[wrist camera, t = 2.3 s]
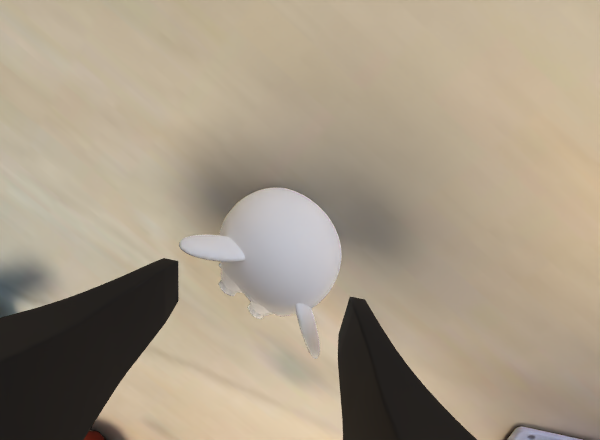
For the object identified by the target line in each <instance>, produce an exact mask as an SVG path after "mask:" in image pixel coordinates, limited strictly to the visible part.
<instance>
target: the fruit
mask: <svg viewBox="0 0 600 440" xmlns="http://www.w3.org/2000/svg"><path fill="white" fill-rule="evenodd" d="M84 440H106V439H105V438H104V437H103V436H102V435H101V434H100V432H98V431H89V432H88V433H87V435H86V437H85V438H84Z"/></svg>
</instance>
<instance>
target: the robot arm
mask: <svg viewBox="0 0 600 440" xmlns="http://www.w3.org/2000/svg"><path fill="white" fill-rule="evenodd" d="M177 302H178V261H175V260H170V259H165V258H164V259H161V260H158V261H156V262H153V263H151V264H149V265H147V266H144V267H142V268H140V269H138V270H135V271H133V272H131V273H129V274H126V275H124V276H122V277H120V278H117V279H115V280H113V281H110V282H108V283H105V284H103V285H100V286H98V287H95V288H93V289H90V290H88V291H85V292H83V293H80V294H77V295H75V296H72V297H69V298H66V299H63V300H60V301H57V302H54V303H51V304H48V305H45V306H42V307H38V308H35V309H31V310H27V311H24V312H20V313H16V314H13V315H9V316H6V317H2V318H0V440H84V438H85V437H86V435H87V433H88V432H89V430H90V429H91V427H92V425H93V424H94V422H95V420H96V419H97V417H98V416H99V414H100V412H101V411H102V409H103V407H104V406H105V404H106V403H107V401H108V400H109V398H110V397H111V395H112V394H113V392H114V390H115V389H116V387H117V386H118V384H119V383H120V381H121V380H122V379H123V377H124V376H125V374H126V373H127V372H128V370H129V369H130V368H131V366H132V365H133V364H134V363H135V361H136V360H137V359H138V357H139V356H140V355H141V354H142V352H143V351H144V350H145V349H146V347H147V346H148V345H149V343H150V342H151V341H152V340H153V338H154V337H155V336H156V334H157V333H158V332H159V330H160V329H161V328H162V326H163V325H164V324H165V322H166V321H167V319H168V318H169V316H170V314H171V313H172V311H173V309H174V307H175V306H176V304H177ZM338 368H339V381H340V393H341V406H342V418H343V440H477V439H476V438H475V437H474V436H472V435H471V434H470V433H469V432H468V431H467V430H466V429H465V428H464V427H463V426H462V425H461V424H460V423H459V422H458V421H457V420H456V419H455V418H454V417H453V416H452V415H451V414H450V413H449V412H448V411H447V410H446V409H445V408H444V407H443V406H442V405H441V404H440V403H439V402H438V401H437V399H436V398H435V397H434V396H433V395H432V394H431V393H430V392H429V391H428V389H427V388H426V387H425V386H424V385H423V384H422V382H421V381H420V380H419V379H418V378H417V376H416V375H415V374H414V373H413V372H412V370H411V369H410V368H409V367H408V365H407V364H406V363H405V361H404V360H403V358H402V357H401V356H400V354H399V353H398V352H397V350H396V349H395V347H394V346H393V344H392V343H391V341H390V340H389V338H388V337H387V335H386V334H385V332H384V330H383V329H382V327H381V326H380V324H379V322H378V321H377V319H376V317H375V316H374V314H373V312H372V311H371V309H370V307H369V305H368V304H367V302H366V301H365V300H364V299H359V298H355V297H350V298H349V302H348V305H347V308H346V312H345V315H344V318H343V322H342V325H341V328H340V332H339V340H338ZM507 440H583V439H578V438H573V437H569V436H564V435H560V434H555V433H550V432H546V431H541V430H537V429H532V428H527V427H517V428H516V429H515V430H514V431H513V433H512V434H511V435H510V436H509V438H508V439H507Z"/></svg>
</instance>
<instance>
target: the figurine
mask: <svg viewBox="0 0 600 440" xmlns="http://www.w3.org/2000/svg"><path fill="white" fill-rule="evenodd" d="M179 247H180V248H181V250H182V251H184V252H185V253H187V254H189V255H192V256H194V257H198V258H202V259H206V260H213V261H221V263H220V264H219V267H220V268H221V278H222V280H221V281H220V282H219V286H220V288H221V290H222V291H223V292H224V293H226V294H227V295H230V296H231V295H232V296H234V295H235V294H236V293H240V292H242V293H244V294H245V296H246V297H247V298H248V299H249V300H250V302H251V303H250V304H249V306H248V307H247V308H248V309H249V312H250V313H251V314H252V315H253V316H254V317H256V318H258V319H262V318H263V317H264V316H268V315H272V314H275V315H277V316H290V315H295V314H297V318H298V322H299V326H300V329H301V332H302V335H303V338H304V341H305V343H306V346H307V348H308V350H309V352H310V354H311V356H312V357H313V358H315V359H316V358H318V356H319V353H320V342H319V335H318V330H317V326H316V322H315V318H314V315H313V312H312V309H311V308H313V307H315V306H316V305H317V304H318V303H320V302H321V301H322V300H323V299H324V298H325V296H326V295H327V294H328V293H329V291H330V290H331V288H332V286H333V285H334V283H335V281H336V278H337V276H338V273H339V270H340V265H341V256H342V252H341V244H340V240H339V237H338V234H337V231H336V229H335V227H334V225H333V223H332V222H331V220H330V219H329V217H328V216H327V215H326V213H325V212H324V211H323V210H322V209H321V208H320V207H319V206H318V205H317V204H316V203H314V202H313V201H312V200H310V199H309V198H307V197H306V196H304V195H302V194H300V193H298V192H296V191H293V190H290V189H286V188H266V189H262V190H259V191H256V192H253V193H251V194H249V195H247V196H246V197H244V198H243V199H242V200H240V201H239V202H238V203H237V204H236V205H235V206H234V207H233V208H232V209H231V210H230V212H229V213H228V214H227V216H226V218H225V219H224V221H223V223H222V226H221V229H220V233H219V235H192V236H188V237H185V238H183V239H182V240H181V241H180V242H179Z"/></svg>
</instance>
